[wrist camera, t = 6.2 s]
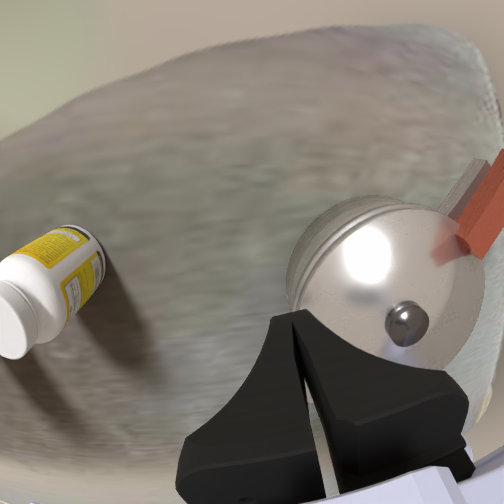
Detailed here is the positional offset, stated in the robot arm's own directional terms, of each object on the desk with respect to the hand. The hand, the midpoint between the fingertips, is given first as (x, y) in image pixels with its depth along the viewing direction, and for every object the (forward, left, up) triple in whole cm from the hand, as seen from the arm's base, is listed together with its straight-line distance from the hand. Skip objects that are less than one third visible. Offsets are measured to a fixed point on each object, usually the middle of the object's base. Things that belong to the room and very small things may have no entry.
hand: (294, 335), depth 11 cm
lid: (-8, -4, -5) cm, 10 cm away
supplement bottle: (+12, +6, -11) cm, 18 cm away
